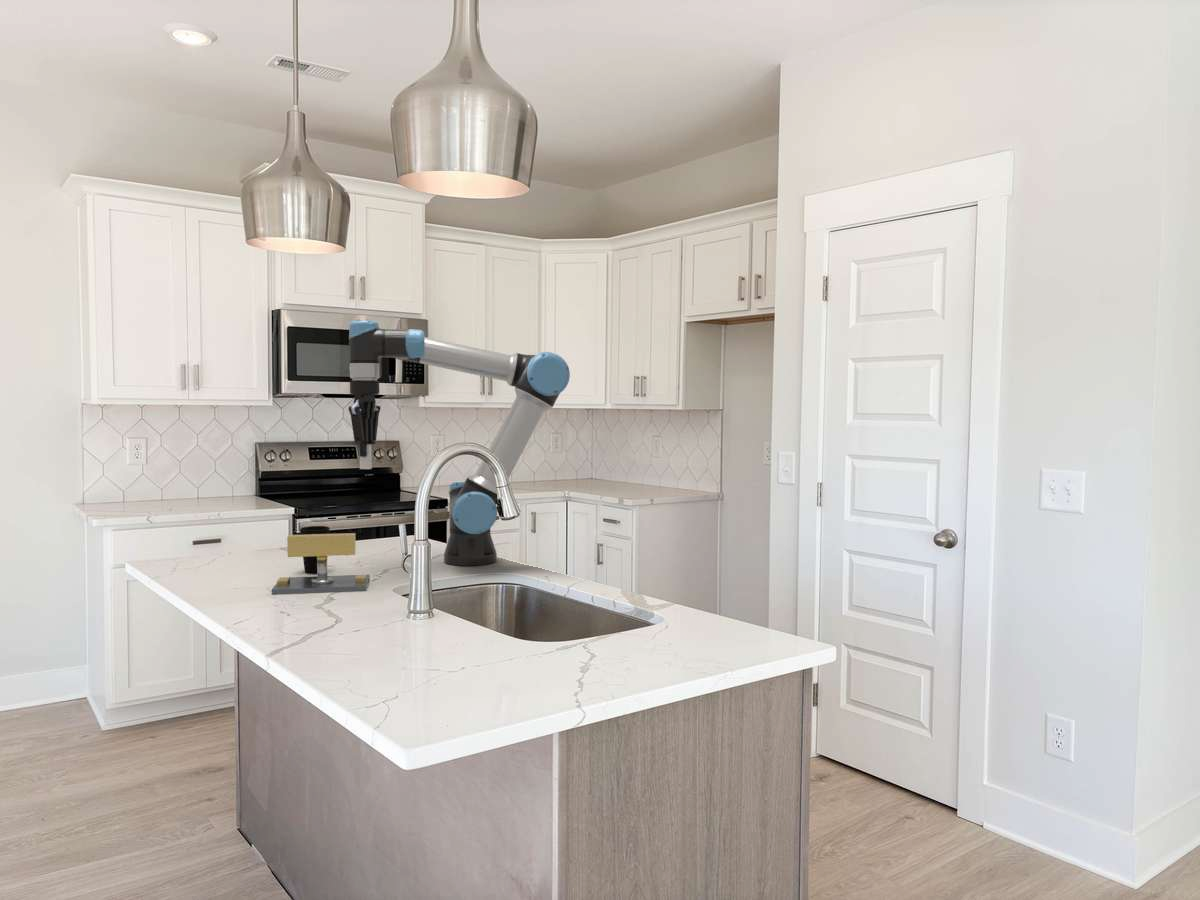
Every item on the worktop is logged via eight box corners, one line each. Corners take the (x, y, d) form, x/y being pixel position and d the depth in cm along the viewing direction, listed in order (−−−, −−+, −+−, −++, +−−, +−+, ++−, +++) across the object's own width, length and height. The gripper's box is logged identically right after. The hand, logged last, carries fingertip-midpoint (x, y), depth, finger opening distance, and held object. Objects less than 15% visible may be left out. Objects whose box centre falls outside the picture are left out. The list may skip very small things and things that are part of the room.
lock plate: (369, 578, 230) (369, 556, 230) (365, 590, 216) (365, 566, 216) (281, 582, 226) (280, 559, 225) (271, 594, 212) (271, 569, 212)
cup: (324, 574, 235) (324, 530, 234) (296, 574, 235) (295, 530, 234) (334, 569, 243) (333, 526, 242) (306, 569, 243) (305, 525, 242)
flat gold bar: (289, 561, 220) (289, 535, 220) (355, 558, 224) (355, 533, 223) (287, 563, 217) (287, 537, 217) (354, 561, 221) (354, 535, 220)
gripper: (364, 380, 239) (365, 466, 241) (338, 379, 227) (340, 470, 228) (389, 380, 238) (390, 467, 239) (365, 379, 225) (366, 471, 227)
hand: (365, 468), depth 234 cm, fingers closed
